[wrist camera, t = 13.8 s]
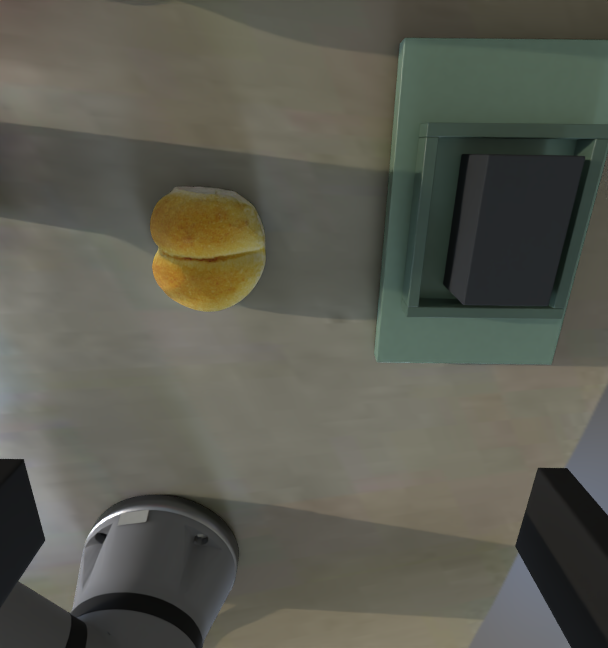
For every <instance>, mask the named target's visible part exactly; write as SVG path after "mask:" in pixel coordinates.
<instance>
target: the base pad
mask: <svg viewBox="0 0 608 648" xmlns="http://www.w3.org/2000/svg"><path fill="white" fill-rule="evenodd" d="M607 153H608V40H579V39H480V38H404V40H403V41H402V42H401V43H400V47H399V60H398V72H397V84H396V96H395V108H394V120H393V132H392V144H391V157H390V169H389V181H388V193H387V205H386V217H385V229H384V241H383V254H382V266H381V278H380V290H379V302H378V314H377V326H376V338H375V351H374V355H375V358H376V361H377V362H394V363H474V364H552V361H553V357H554V353H555V349H556V346H557V342H558V338H559V334H560V330H561V327H562V323H563V319H564V315H565V312H566V308H567V304H568V300H569V297H570V293H571V289H572V285H573V281H574V278H575V274H576V270H577V266H578V263H579V259H580V255H581V251H582V247H583V244H584V240H585V236H586V232H587V229H588V225H589V221H590V217H591V214H592V210H593V206H594V202H595V198H596V195H597V191H598V187H599V183H600V180H601V176H602V172H603V168H604V164H605V161H606V157H607ZM462 154H512V155H570V156H585V161H584V165H583V169H582V173H581V177H580V181H579V185H578V189H577V193H576V197H575V201H574V205H573V209H572V213H571V217H570V221H569V225H568V229H567V233H566V237H565V241H564V245H563V249H562V253H561V257H560V261H559V265H558V269H557V273H556V277H555V281H554V285H553V289H552V293H551V297H550V301H549V305H548V306H499V305H463V304H462V303H461V302H460V301H459V300H458V299H457V298H456V297H455V296H454V295H453V294H452V293H451V292H450V291H449V290H448V289H447V288H446V287H445V286H444V285H443V281H444V274H445V267H446V260H447V253H448V246H449V239H450V232H451V225H452V218H453V211H454V204H455V197H456V190H457V183H458V176H459V169H460V162H461V155H462Z"/></svg>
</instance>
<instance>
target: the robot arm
mask: <svg viewBox="0 0 608 648" xmlns="http://www.w3.org/2000/svg"><path fill="white" fill-rule="evenodd" d="M44 541H45V537H44V533H43V530H42V526H41V522H40V519H39V515H38V511H37V507H36V504H35V500H34V496H33V492H32V489H31V485H30V481H29V478H28V474H27V470H26V466H25V463H24V459H0V648H202V647H203V642H204V639H205V637H206V635H207V633H208V632H209V630H210V628H211V626H212V624H213V622H214V620H215V618H216V617H217V615H218V613H219V611H220V609H221V607H222V605H223V603H224V602H225V600H226V598H227V596H228V594H229V592H230V590H231V589H232V587H233V584H234V582H235V578H236V572H237V566H238V560H239V550H238V545H237V541H236V539H235V537H234V535H233V533H232V531H231V530H230V528H229V527H228V526H227V525H226V524H225V522H224V521H223V520H222V519H220V518H219V517H218V516H217V515H216V514H214V513H213V512H211V511H210V510H208V509H207V508H205V507H203V506H201V505H199V504H197V503H194V502H192V501H189V500H186V499H182V498H178V497H173V496H166V495H145V496H138V497H133V498H129V499H126V500H124V501H121V502H119V503H117V504H115V505H113V506H112V507H110V508H109V509H107V510H106V511H105V512H104V513H103V514H102V515H101V516H100V517H99V519H98V520H97V522H96V523H95V525H94V527H93V529H92V531H91V532H90V534H89V536H88V538H87V539H86V542H85V544H84V548H83V554H82V560H81V565H80V571H79V576H78V582H77V587H76V593H75V598H74V604H73V608H72V611H71V613H69V612H67V611H65V610H64V609H62V608H61V607H59V606H57V605H56V604H54V603H52V602H51V601H49V600H48V599H46V598H44V597H43V596H41V595H40V594H38V593H36V592H35V591H33V590H31V589H30V588H28V587H27V586H25V585H23V584H22V583H20V582H19V581H18V580H19V579H20V577H21V576H22V574H23V573H24V571H25V570H26V568H27V567H28V565H29V564H30V562H31V561H32V559H33V558H34V556H35V555H36V553H37V552H38V550H39V549H40V547H41V546H42V544H43V543H44ZM515 547H516V549H517V550H518V552H519V554H520V556H521V558H522V559H523V561H524V563H525V565H526V567H527V568H528V570H529V572H530V574H531V576H532V577H533V579H534V581H535V583H536V584H537V587H538V588H539V590H540V592H541V594H542V595H543V597H544V599H545V601H546V603H547V604H548V606H549V608H550V610H551V611H552V614H553V615H554V617H555V619H556V621H557V623H558V624H559V626H560V628H561V630H562V631H563V634H564V635H565V637H566V639H567V641H568V643H569V644H570V646H571V648H608V515H607V514H606V513H605V512H604V511H603V510H602V508H601V507H600V506H599V505H598V504H597V502H596V501H595V500H594V499H593V498H592V497H591V495H590V494H589V493H588V492H587V491H586V490H585V488H584V487H583V486H582V485H581V484H580V483H579V482H578V480H577V479H576V478H575V477H574V476H573V474H572V473H571V472H570V471H569V470H568V469H567V468H538V470H537V473H536V477H535V480H534V483H533V487H532V490H531V494H530V497H529V501H528V504H527V508H526V511H525V514H524V518H523V521H522V525H521V528H520V532H519V535H518V539H517V542H516V545H515Z"/></svg>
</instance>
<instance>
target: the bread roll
mask: <svg viewBox="0 0 608 648" xmlns="http://www.w3.org/2000/svg"><path fill="white" fill-rule="evenodd" d="M150 230H151V235H152V238H153V240H154V242H155V243H156V244H157V245H158V251H157V253H156V255H155V257H154V260H153V265H152V268H153V274H154V277H155V279H156V281H157V283H158V285H159V286H160V287H161V288H162V290H163V291H164V292H165V293H166V294H167V295H168V296H169V297H170V298H172V299H173V300H175V301H176V302H178V303H180V304H182V305H184V306H186V307H189V308H192V309H194V310H199V311H206V312H214V311H220V310H223V309H226V308H228V307H231V306H233V305H235V304H236V303H238V302H239V301H241V300H242V299H243V298H245V297H246V296H247V295H248V294H249V293H250V292H251V291H252V290H253V288H254V287H255V286H256V284H257V282H258V281H259V279H260V277H261V275H262V272H263V270H264V266H265V262H266V252H265V232H264V228H263V225H262V222H261V219H260V217H259V215H258V213H257V211H256V209H255V207H254V206H253V205H252V204H251V203H250V202H249V201H247V200H246V199H245V198H243V197H242V196H240V195H239V194H238V193H237V192H234V191H230V190H224V189H218V188H211V187H208V188H205V187H199V186H198V187H188V186H183V187H174V189H173V190H172V191H171V192H170V193H169V194H167V195H166V196H164V197H163V198H162V199H160V200H159V201H158V202H157V204H156V206H155V207H154V210H153V213H152V216H151V220H150Z"/></svg>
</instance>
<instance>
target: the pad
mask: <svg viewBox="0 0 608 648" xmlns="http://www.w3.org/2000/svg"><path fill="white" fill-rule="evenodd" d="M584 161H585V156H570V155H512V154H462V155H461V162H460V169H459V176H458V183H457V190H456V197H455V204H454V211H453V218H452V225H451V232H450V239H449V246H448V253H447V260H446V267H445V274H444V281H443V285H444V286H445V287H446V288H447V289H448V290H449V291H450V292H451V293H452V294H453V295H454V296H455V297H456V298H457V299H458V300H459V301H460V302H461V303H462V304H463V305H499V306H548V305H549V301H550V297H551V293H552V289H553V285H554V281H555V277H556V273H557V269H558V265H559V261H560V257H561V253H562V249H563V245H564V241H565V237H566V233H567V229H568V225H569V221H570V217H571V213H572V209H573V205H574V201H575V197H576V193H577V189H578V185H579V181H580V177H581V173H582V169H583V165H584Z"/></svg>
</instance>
